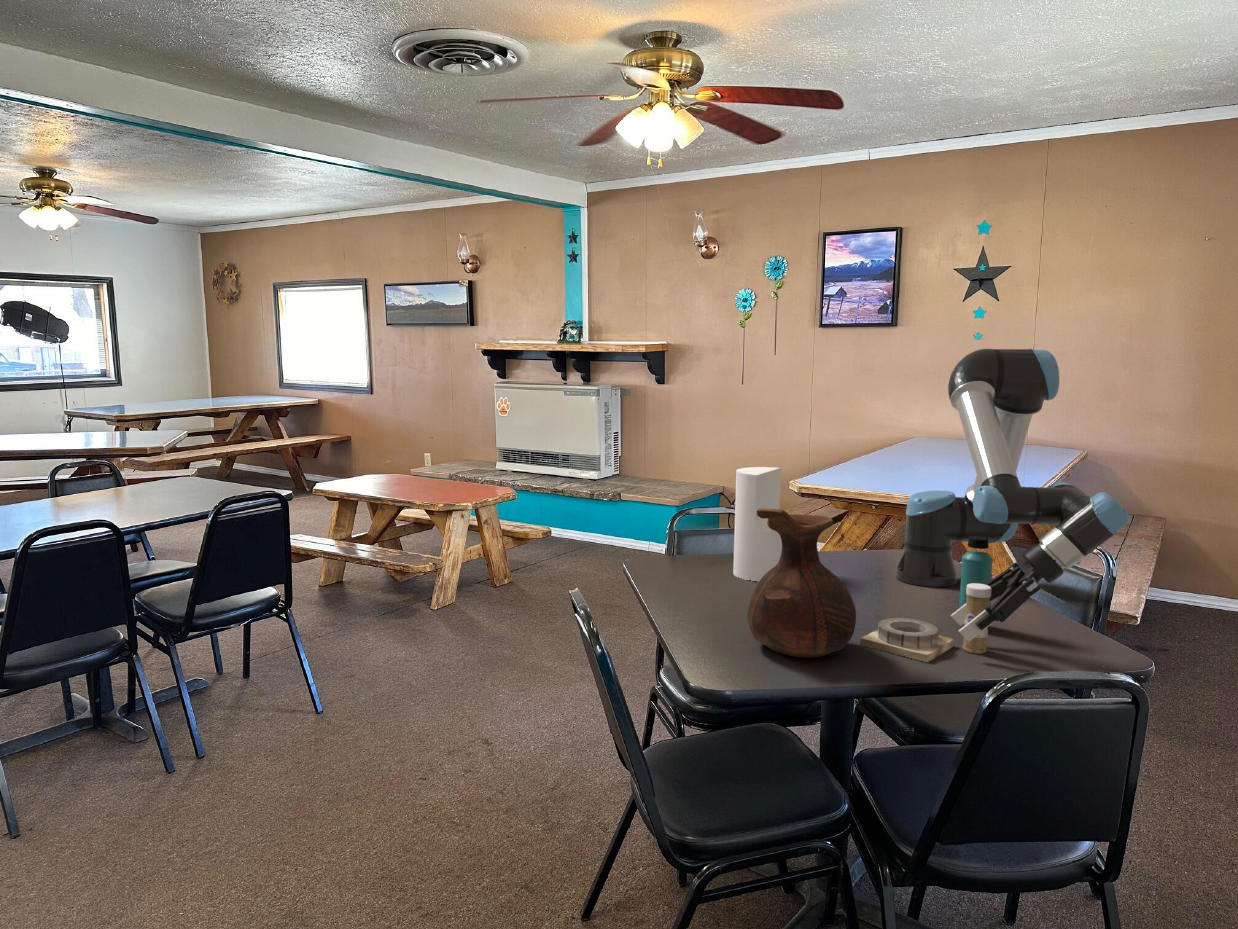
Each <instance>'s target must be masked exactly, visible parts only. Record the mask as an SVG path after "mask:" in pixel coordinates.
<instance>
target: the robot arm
mask: <svg viewBox="0 0 1238 929" xmlns="http://www.w3.org/2000/svg"><path fill="white" fill-rule="evenodd" d="M1059 370H1060V369H1059V366H1058V362H1057V359H1056V357H1055V355H1054V354H1052V353H1051V352H1050V351H1048V350H1046V349H1034V348H1029V349H1028V348H1026V349H1025V348H1024V349H1022V348H1021V349H1020V348H1019V349H1017V348H1016V349H1015V348H1013V349H1012V348H1009V349H1008V348H981V349H978V350H977V349H976V350H974V351H972V352H970V353H968V354H966V355H965V356H964V357H963V358H962V359H961V360H959V361H958V363H957V364H956V365H955V367H954V368H953V370H951V371H952V372H951V374H950V376H949V380H948V384H947V388H948V389H947V392H948V393H947V394H948V398H949V400H950V404H951V406H952V407H953V409H955V410H956V411H957V412H958V416H959V419H960V422H961V425H962V429H963V432H964V436H965V438H966V443H967V446H968V450H969V452H970V456H971V460H972V463H973V467H974V469H975V473H976V477H975V481H974V484H971V485H970V486H968V487H967V489H966V490H965V495H964V496H962V497H961V496H958V497H957V496H956V495H955V494H956V493H955V492H954V491H949V490H927V491H920V492H916V493H914V494H912V495H910V496H909V498H908V499H907V503H906V504H907V505H906V510H905V516H906V517H905V530H904V531H905V532H904V533H905V534H904V537H905V538H904V549H903V552H902V554H901V557H900V559H899V562H898V564H897V566H896V572H895V573H896V574H895V577H896V579H898V580H899V581H901V582H904V583H906V584H911V585H916V586H923V587H933V588H935V587H937V588H938V587H939V588H940V587H942V588H943V587H950V586H954V585H956V584H957V583H958V582H957V581H958V572H957V569H956V565H955V563H954V559H953V554H952V553H953V552H952V551H953V550H952V547H953V546H952V545H953V542H961V543H967V542H968V541H969V537H972V536H979V537H985V538H987V539H988V544H996V543H1004V542H1007V541H1009V540H1010V539H1011V538H1013V537H1014V535H1015V533H1016V532H1017V529H1018V527H1019V524H1025V525H1026V524H1029V525H1056V526H1055V527H1053V528H1052V529H1050V530H1049V531H1047V533H1045V534H1044V535H1043V536H1041V537H1039V539H1038V542H1039V543H1033V544H1032V545H1030V547H1028V548H1027V549H1025V550H1024V551H1023V552H1022V554H1021V556H1022V558H1023V559H1024V560H1025V561H1026V562H1025V563H1022V564H1021V565H1020V564H1019V563H1018V562H1013V564H1011V565H1010V566H1009V567H1008V568H1007V569H1005V570H1004V571H1002V572H1000V573H999V574H998V575H996V576H995V577H993V579H992V580H990V581H989V582H987V583H986V584H985V585H988V586H990V587H991V597H990V602H989V603H991V601H994V600H996V601H995V602H993V603H992V604H991V607H990V608H989V607H985V610H984V611H983V612H982V613H980V614H979V615H978V616H976V617H975V618H974V619H973V620H971V621H970V622H969V623H967V624H966V625H965V626H963V625H964V623H965V615H966V604H964V605H963V606H962V607H961V608H958V609H957V610H956V611H954V612H953V613H952V614H950V617H951V619H953V620H954V621H955V622H956V623H957V624H958V625H959V626H960V627H961V628H960V629H958V632H959V634H960V635H962V637H963V639H964V638H965V639H966V640H967V641H968V642H970V641H971V640H972V639H973V638H975V637H976V636H977V635H979V634H980V633H981V632H982V631H984V630H985V629H986V628H988V629H989V627H990V626H992V625H993V624H994V623H996V622H1001V623H1004V622H1005V621H1006V620H1007V619H1008V618H1009V617H1010V616H1011V615H1012V614H1014V612H1016V610H1018V609H1019V608H1020V607H1021V606H1022V605H1023V604H1024V603H1025V602H1026V601H1028V599H1030V598H1031V597H1032V596H1033V595H1034V594H1036V593H1037V592H1038V591H1040V590H1041V589H1042V588H1041V586H1040V585H1039V584H1038V583H1039V582H1040V581H1041V579H1044V580H1045V581H1046V582H1047V583H1048V584H1051V583H1053V582H1054V581H1056V580H1057V579H1058V578H1060V577H1061V576H1062V575H1064V572H1065V571H1064V569H1066V570H1070V569H1071V568H1072V567H1074V566H1075V565H1080V564H1082V561H1081V560H1082V559H1084V558H1085V557H1086V556H1088V555H1090V554H1091V553H1092V552H1093V551H1095V550H1096V549H1097V548H1098V547H1100V546H1101V545H1102V544H1104V543H1105V542H1107V541H1108V540H1109V539H1111V538H1112V537H1113V536H1115V535H1117V534H1118V533H1119V531H1120V530H1121V529H1123V527H1125V526H1126V525H1127V524H1128V523H1129V522H1130V520H1131V516H1130V514H1129V512H1128V511H1127V510H1126V509H1125V507H1123V505H1122V504H1120V503H1119V501H1118V500H1116V499H1115V498H1114V497H1113V496H1111V495H1110V494H1108V492H1104V491H1102V492H1098V493H1096V494H1095V495H1093V496H1091V497H1090V496H1089V495H1088V494H1087V493H1085V492H1084V490H1082V489H1080V488H1079V487H1077V486H1075V485H1073V484H1070V483H1068V482H1063V481H1059V482H1058V481H1057V482H1055V483H1052V484H1050V485H1047V486H1046V487H1041V486H1037V487H1034V486H1022V485H1021V482H1020V480H1019V477H1018V475H1017V470H1018V466H1019V462H1020V460H1021V456H1022V452H1023V448H1024V446H1025V443H1026V438H1027V434H1028V432H1029V428H1030V424H1031V421H1032V417H1033V415H1035V414H1038V413H1039V412H1040V411H1041V410H1042V409H1043V404H1044V402H1045V401H1051V400H1053V399H1055V398H1056V397H1057V395H1058V392H1059V388H1060V371H1059Z"/></svg>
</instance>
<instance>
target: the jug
mask: <svg viewBox="0 0 1238 929" xmlns="http://www.w3.org/2000/svg"><path fill="white" fill-rule="evenodd" d="M757 516H758V517H760V518H762V519H765V518H768V521H767V525H768V527H769V528H770V529H772V530H774V531H776V532H778V534H779V535H780V537H781V541H782V551H781V557H780V560H779V562H778V564H777V565H776V566H775V567H773V568H772V569H770V570H769V571H768V572H767V573H766V574H765V575H764V576H763V577H762V578H761V580H760V581H759V582H757V584H756V587H755V588H754V590H753V593H752V594H751V597H750V601H749V604H748V609H747V624H748V627H749V630H750V633H751V635H752V637H753V638H754V639H755V640H756V641H757V642H759V643H761V644H762V645H763V646H765V647H767V648H769V649H770V650H771V651H774V652H776V653H779V654H782V655H783V654H784V655H786V656H787V655H788V656H792V657H794V658H806V659H807V658H809V659H810V658H811V659H813V658H821V657H823V656H826V655H829V654H831V653H835V652H837V651H840V650H842V649H843V648H844V647H845V646H846V645H847V644H848V643H849V642H850V641H851V640H852V637H853V635H854V634H855V629H856V622H857V610H856V606H855V602H854V600H853V597H852V595H851V594H850V591H849V589H848V588H847V587H846V585H845V584H844V583H843V581H842V580H841V579H840V578H839V576H837V575H836V574H835V573H834V572H832V571H831V570H830V569H829V568H828V567H826V566H825V565H823V563H822V562H821V559H820V556H819V550H818V541H819V537H820V535H821V534H822V533H823V532H824V531H825V530H827V529H829V528H830V527H832V526H833V525H834V521H833V519H832V518H831V517H828V516H824V515H816V514H815V515H814V514H800V513H797V514H795V513H793V514H792V513H791V514H790V513H788V512H787V511H786V510H784V509H781V508H779V509H770V508H760V509H757Z"/></svg>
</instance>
